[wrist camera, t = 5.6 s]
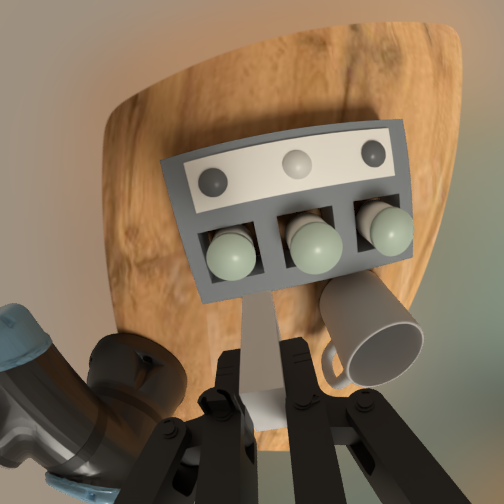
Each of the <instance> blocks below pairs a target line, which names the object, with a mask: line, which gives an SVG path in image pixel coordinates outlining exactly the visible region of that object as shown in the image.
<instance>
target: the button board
mask: <svg viewBox="0 0 504 504" xmlns="http://www.w3.org/2000/svg"><path fill="white" fill-rule="evenodd" d="M383 128H388V129H389V135H390V141H391V148H392V155H393V163H394V172H395V176H389V177H382V178H375V179H368V180H362V181H355V182H349V183H343V184H337V185H331V186H325V187H320V188H314V189H309V190H303V191H298V192H293V193H287V194H282V195H277V196H272V197H268V198H263V199H258V200H253V201H249V202H244V203H239V204H235V205H230V206H226V207H222V208H217V209H213V210H209V211H205V212H200V213H196V210H195V206H194V203H193V199H192V195H191V191H190V187H189V183H188V180H187V176H186V172H185V168H184V164H183V163H185V162H189V161H193V160H196V159H200V158H204V157H208V156H212V155H216V154H220V153H224V152H228V151H233V150H237V149H242V148H246V147H251V146H256V145H261V144H266V143H272V142H277V141H283V140H288V139H295V138H301V137H307V136H314V135H322V134H330V133H338V132H347V131H357V130H369V129H383ZM160 163H161V167H162V171H163V175H164V179H165V183H166V186H167V190H168V194H169V198H170V201H171V205H172V208H173V212H174V215H175V219H176V222H177V226H178V229H179V232H180V236H181V239H182V242H183V245H184V249H185V252H186V255H187V258H188V261H189V264H190V268H191V271H192V274H193V277H194V280H195V283H196V286H197V289H198V291H199V294H200V297H201V300H202V303H203V304H207V303H213V302H218V301H224V300H229V299H234V298H240V297H243V295H248V294H253V293H258V292H263V291H268V290H271V291H275V290H280V289H284V288H289V287H294V286H298V285H303V284H307V283H312V282H316V281H321V280H325V279H329V278H334V277H338V276H342V275H346V274H350V273H355V272H359V271H363V270H367V269H371V268H375V267H379V266H382V265H386V264H390V263H394V262H398V261H401V260H405V259H409V258H412V257H413V239H412V241H411V243H410V245H409V246H408V248H407V249H406V250H405V251H403V252H402V253H401V254H399V255H396V256H385V255H383V254H381V253H380V252H379V251H378V250H377V249H376V248H375V247H374V246H373V245H372V244H371V243H370V242H369V241H368V240H366V239H365V238H364V237H363V236H362V235H361V234H358V235H356V226H355V215H354V206H353V201H358V200H364V199H369V198H375V197H380V201H382V202H385V203H387V204H389V205H391V206H393V207H398V208H400V209H402V210H404V211H406V212H407V213H408V214H409V215H410V216H411V218H412V220H413V210H412V191H411V178H410V167H409V158H408V150H407V143H406V136H405V130H404V124H403V119H393V120H372V121H358V122H346V123H336V124H327V125H319V126H312V127H304V128H298V129H291V130H285V131H279V132H273V133H268V134H263V135H257V136H252V137H248V138H243V139H238V140H234V141H229V142H225V143H221V144H217V145H213V146H209V147H205V148H201V149H197V150H194V151H190V152H186V153H183V154H179V155H176V156H173V157H169V158H166V159H163V160H160ZM320 207H321V213H322V219H323V220H324V221H325V222H326V223H327V224H329V225H330V226H331V227H333V228H334V229H335V230H336V231H337V232H338V234H339V235H340V237H341V239H342V244H343V250H342V255H341V257H340V259H339V261H338V263H337V264H336V265H335V266H334V267H333V268H332V269H330V270H329V271H327V272H325V273H322V274H308V273H305V272H303V271H301V270H300V269H299V268H298V267H297V266H296V265H295V263H294V261H293V259H292V257H291V253H290V249H287V250H283V248H282V243H281V237H280V232H279V227H278V222H277V216H280V215H285V214H290V213H295V212H300V211H305V210H310V209H315V208H320ZM251 221H253V222H254V226H255V231H256V235H257V240H258V244H259V249H260V253H261V255H259V256H256V262H255V266H254V268H253V270H252V271H251V272H250V274H248V275H247V276H246V277H244V278H242V279H240V280H235V281H228V280H223V279H221V278H219V277H217V276H216V275H215V274H213V273H212V271H211V270H210V269H209V267H208V264H207V259H206V256H207V251H208V248H209V245H210V240H209V236H208V233H207V231H211V230H215V229H219V228H224V227H228V226H233V225H238V224H242V223H247V222H251Z"/></svg>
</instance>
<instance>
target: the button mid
mask: <svg viewBox="0 0 504 504" xmlns="http://www.w3.org/2000/svg"><path fill="white" fill-rule="evenodd" d="M285 239H286V242H287V244H288V247H289V249H290V253H291V257H292V259H293V261H294V263H295V265H296V266H297V267H298V268H299V269H300V270H301V271H303V272H305V273H308V274H322V273H325V272H327V271H329V270H330V269H332V268H333V267H334V266H335V265H336V264H337V263H338V261H339V259H340V257H341V255H342V250H343V244H342V239H341V237H340V235H339V234H338V232H337V231H336V230H335V229H334V228H333V227H331V226H330V225H329V224H327V223H326V222H325V221H324V220H323V219H322V218H321V217H319V216H318V215H316V214H314V213H301V214H298V215H296V216H295V217H293V218H292V219H291V220H290V221H289V223H288V224H287V227H286V230H285Z"/></svg>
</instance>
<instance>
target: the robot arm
mask: <svg viewBox="0 0 504 504" xmlns="http://www.w3.org/2000/svg"><path fill="white" fill-rule="evenodd" d="M89 368H90V369H89V372H88V377H87V384H86V383H85V382H84V381H83V380H82V379H81V377H80V376H79V375H78V374H77V373H76V372H75V371H74V369H73V368H72V367H71V366H70V364H69V363H68V362H67V361H66V360H65V358H64V357H63V356H62V355H61V353H60V352H59V351H58V349H57V348H56V347H55V345H54V344H53V343H52V340H51V338H50V336H49V335H48V334H47V333H45V332H44V331H43V329H42V328H41V327H40V325H39V324H38V323H37V321H36V320H35V319H34V317H33V316H32V314H31V313H30V312H29V310H28V309H26V308H25V307H24V306H22V305H20V304H17V303H12V304H8V305H5V306H2V307H0V467H2V468H5V469H15V468H17V467H18V466H19V465H20V464H21V463H22V462H23V461H25V460H26V459H27V458H32V459H33V460H34V461H36V462H37V463H38V464H40V465H41V466H43V467H44V468H46V469H47V470H48V471H47V472H46V473H45V476H46V479H45V480H46V482H47V484H48V485H49V486H51V487H53V488H54V489H56V490H58V491H60V492H63V493H65V494H67V495H69V496H71V497H74V498H76V499H79V500H81V501H84V502H87V503H89V504H194V501H195V504H258V474H257V443H256V439H255V437H254V428H255V430H256V431H265V430H272V429H279V428H285V427H287V428H288V437H289V446H290V455H291V465H292V474H293V484H294V494H295V504H347V503H346V498H345V493H344V488H343V483H342V478H341V474H340V469H339V465H338V460H337V455H336V451H335V446H334V445H346V447H347V448H348V450H349V451H350V453H351V455H352V456H353V458H354V459H355V461H356V463H357V464H358V466H359V467H360V469H361V471H362V472H363V474H364V476H365V477H366V479H367V480H368V482H369V483H370V485H371V486H372V488H373V490H374V491H375V493H376V494H377V496H378V498H379V499H380V501H381V502H382V503H383V504H471V503H470V501H469V500H468V499H467V497H466V496H465V495H464V494H463V493H462V491H461V490H460V489H459V488H458V486H457V485H456V484H455V483H454V481H453V480H452V479H451V478H450V476H449V475H448V474H447V473H446V472H445V471H444V469H443V468H442V467H441V465H440V464H439V463H438V462H437V461H436V460H435V458H434V457H433V456H432V454H431V453H430V452H429V451H428V450H427V448H426V447H425V446H424V445H423V444H422V442H421V441H420V440H419V439H418V437H417V436H416V435H415V434H414V433H413V432H412V430H411V429H410V428H409V427H408V425H407V424H406V423H405V422H404V421H403V419H402V418H401V417H400V416H399V415H398V413H397V412H396V411H395V410H394V409H393V407H392V406H391V405H390V404H389V403H388V402H387V400H386V399H385V398H384V397H383V395H382V394H381V393H379V392H378V391H376V390H374V389H370V388H366V389H360V390H357V391H355V392H354V393H352V394H351V395H350V396H349V397H333V396H330V395H327V394H325V393H324V392H323V391H322V390H321V389H320V387H319V385H318V381H317V377H316V373H315V369H314V366H313V362H312V358H311V354H310V350H309V346H308V343H307V342H306V341H305V340H304V339H303V338H302V337H297V338H292V339H288V340H282V341H281V336H280V330H279V325H278V321H277V316H276V311H275V307H274V302H273V298H272V293H271V290H268V291H263V292H258V293H253V294H248V295H243V301H242V326H241V349H235V350H228V351H223V353H222V354H221V356H220V357H219V359H218V363H217V371H216V379H215V387H213V388H210V389H208V390H206V391H204V392H203V393H202V394H201V395H200V397H199V399H198V401H197V402H198V404H199V406H200V407H201V409H202V410H203V412H204V415H202V416H200V417H198V418H195V419H192V420H189V421H186V422H183V421H182V420H181V419H179V418H176V417H171V416H172V415H173V414H174V412H175V410H176V409H177V407H178V406H179V405H180V404H181V403H182V401H183V399H184V397H185V392H186V387H187V376H186V373H185V371H184V369H183V367H182V365H181V364H180V363H179V361H178V360H177V359H176V358H175V357H174V356H173V355H172V354H171V353H170V352H168V351H167V350H166V349H164V348H163V347H161V346H160V345H158V344H156V343H154V342H152V341H150V340H148V339H145V338H143V337H140V336H136V335H132V334H124V333H117V334H111V335H107V336H105V337H104V338H102V339H101V340H100V341H99V342H98V343H97V345H96V346H95V348H94V349H93V351H92V353H91V356H90V360H89Z"/></svg>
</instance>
